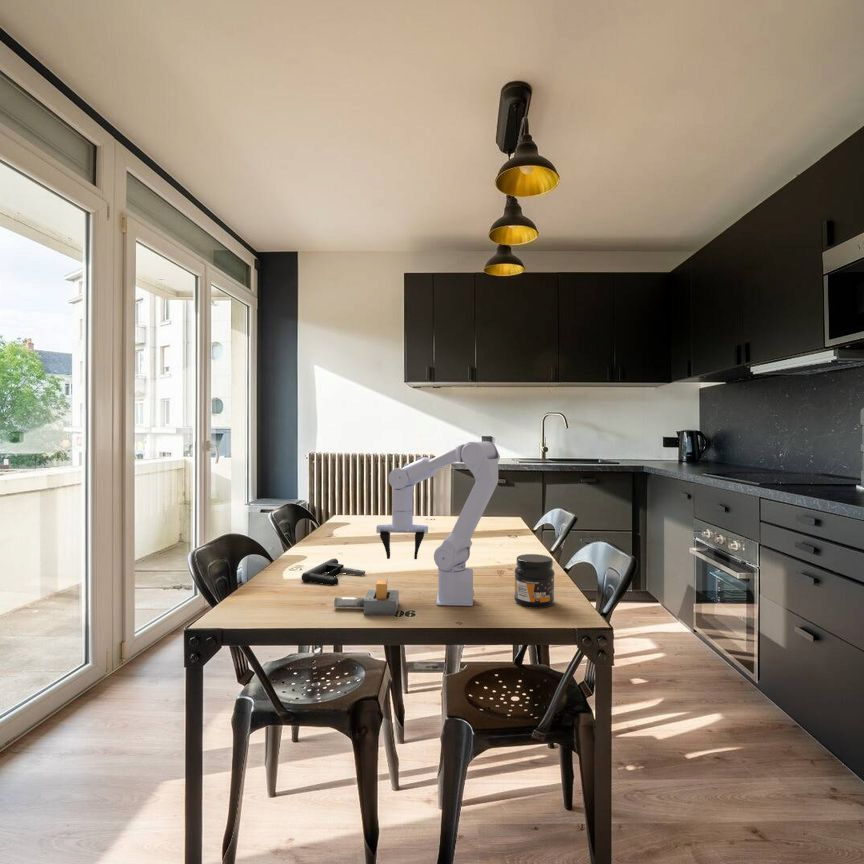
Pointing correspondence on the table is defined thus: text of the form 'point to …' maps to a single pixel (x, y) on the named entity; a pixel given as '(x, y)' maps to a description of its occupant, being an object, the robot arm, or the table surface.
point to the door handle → (328, 578)
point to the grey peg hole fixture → (372, 603)
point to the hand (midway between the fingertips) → (402, 558)
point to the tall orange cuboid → (381, 589)
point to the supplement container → (534, 581)
